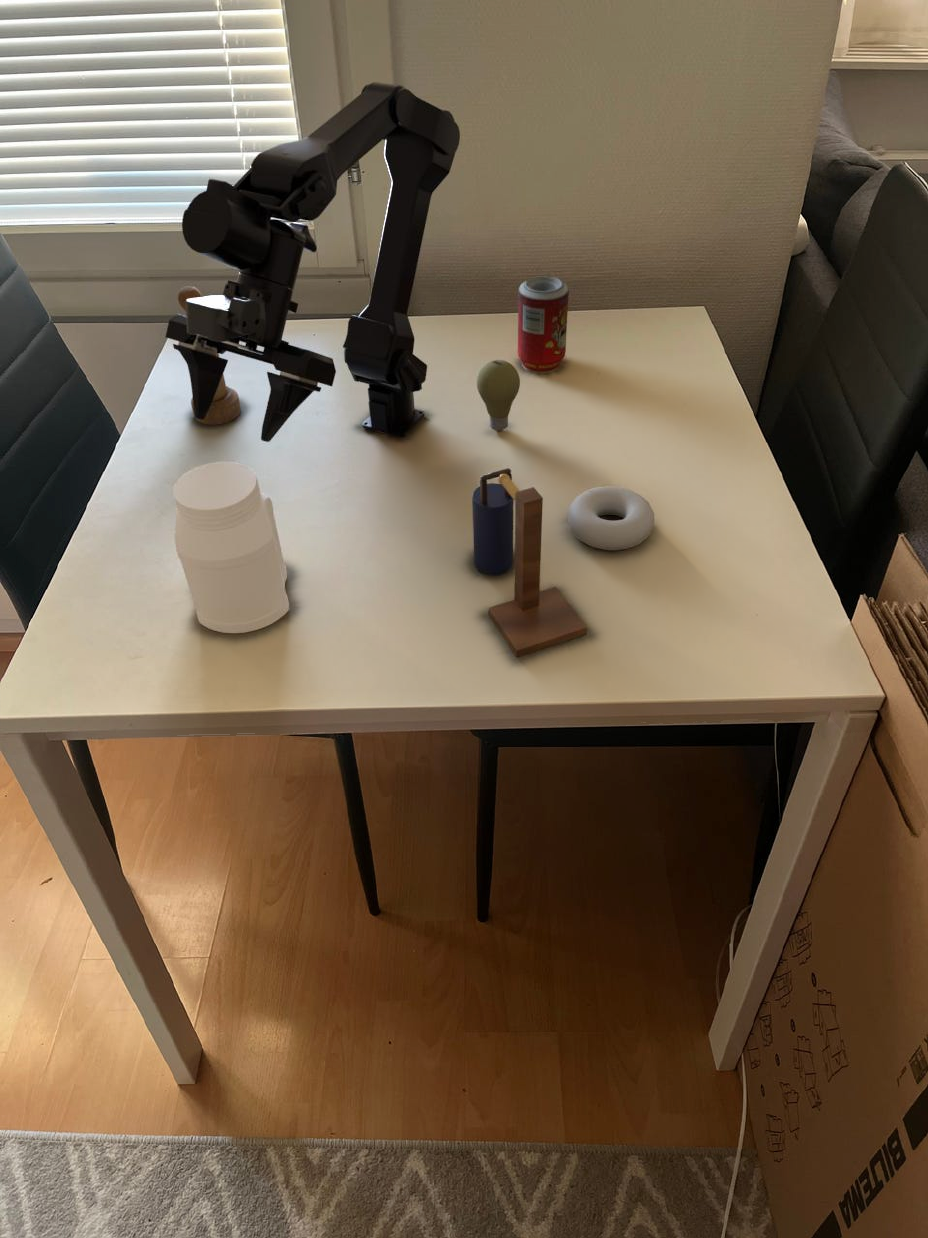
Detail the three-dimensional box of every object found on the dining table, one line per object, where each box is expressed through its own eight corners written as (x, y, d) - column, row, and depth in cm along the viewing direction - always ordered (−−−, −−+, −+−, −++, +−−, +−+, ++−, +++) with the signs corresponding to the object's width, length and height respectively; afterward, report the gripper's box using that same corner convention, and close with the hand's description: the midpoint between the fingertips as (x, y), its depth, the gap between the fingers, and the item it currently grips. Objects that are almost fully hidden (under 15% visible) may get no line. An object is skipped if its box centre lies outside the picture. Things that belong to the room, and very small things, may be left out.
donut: (643, 564, 103) (660, 511, 110) (646, 540, 101) (663, 487, 108) (557, 547, 106) (578, 496, 113) (558, 524, 103) (579, 473, 110)
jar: (290, 626, 98) (265, 513, 87) (198, 640, 97) (162, 526, 86) (286, 558, 106) (262, 447, 95) (201, 570, 105) (168, 458, 94)
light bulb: (471, 437, 123) (469, 368, 116) (486, 416, 127) (485, 348, 120) (511, 444, 121) (511, 375, 114) (525, 423, 125) (526, 355, 118)
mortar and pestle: (230, 426, 127) (200, 301, 114) (186, 423, 128) (152, 297, 115) (248, 402, 131) (221, 278, 119) (205, 398, 132) (174, 275, 120)
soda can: (559, 377, 134) (563, 296, 125) (512, 372, 135) (512, 291, 127) (569, 355, 138) (573, 274, 130) (523, 350, 140) (524, 270, 132)
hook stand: (469, 585, 102) (465, 471, 91) (534, 565, 104) (537, 451, 93) (516, 657, 93) (518, 541, 83) (586, 634, 95) (596, 518, 85)
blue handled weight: (468, 556, 105) (464, 462, 96) (503, 546, 106) (502, 452, 97) (483, 579, 102) (481, 484, 93) (519, 568, 103) (520, 473, 94)
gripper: (143, 242, 92) (111, 397, 95) (290, 278, 85) (250, 444, 88) (218, 273, 102) (186, 412, 105) (355, 307, 95) (317, 456, 98)
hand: (231, 429), depth 98 cm, fingers open, 9 cm apart
